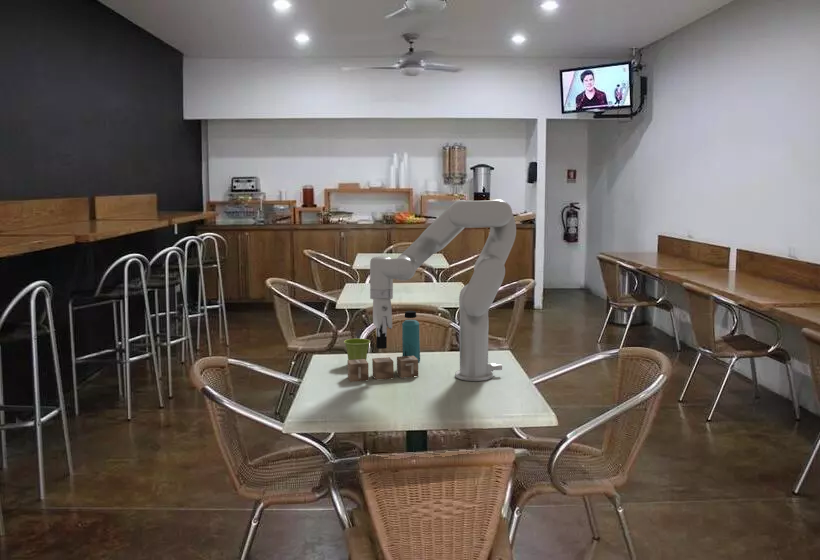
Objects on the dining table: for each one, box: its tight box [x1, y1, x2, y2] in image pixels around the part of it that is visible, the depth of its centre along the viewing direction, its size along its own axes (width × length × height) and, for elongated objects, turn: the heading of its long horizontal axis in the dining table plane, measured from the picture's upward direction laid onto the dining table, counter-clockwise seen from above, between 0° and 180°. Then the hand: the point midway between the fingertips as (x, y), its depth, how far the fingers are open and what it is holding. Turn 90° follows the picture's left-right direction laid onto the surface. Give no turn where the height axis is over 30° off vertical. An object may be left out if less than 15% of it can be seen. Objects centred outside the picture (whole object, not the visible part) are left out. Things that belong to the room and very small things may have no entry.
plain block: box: [371, 356, 395, 381], centre depth 240 cm, size 6×6×6 cm
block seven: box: [396, 355, 419, 379], centre depth 242 cm, size 6×6×6 cm
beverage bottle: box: [401, 310, 421, 364], centre depth 253 cm, size 6×7×20 cm
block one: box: [347, 358, 370, 383], centre depth 238 cm, size 6×6×6 cm
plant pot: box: [343, 338, 371, 361], centre depth 257 cm, size 9×9×9 cm
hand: (381, 347), depth 239 cm, fingers closed
